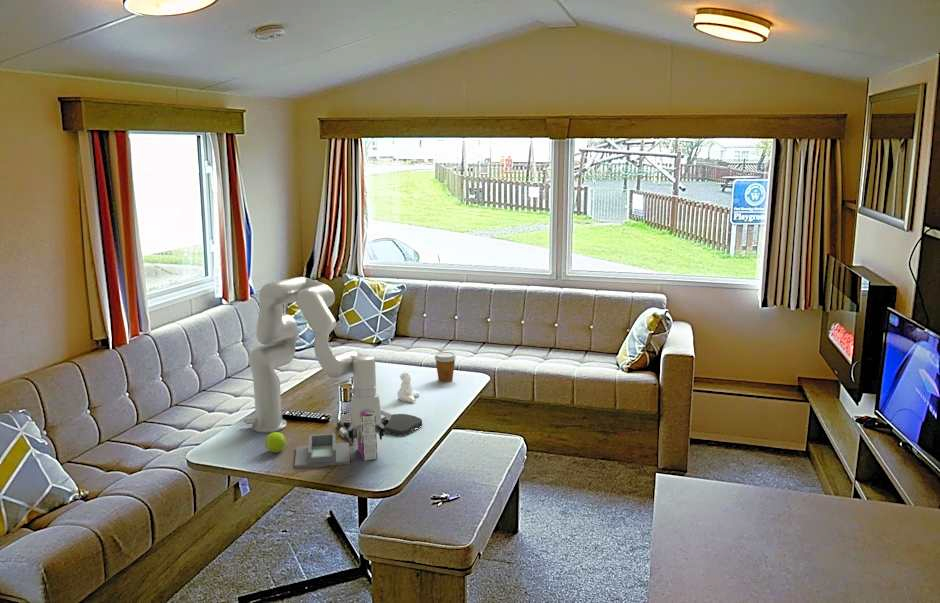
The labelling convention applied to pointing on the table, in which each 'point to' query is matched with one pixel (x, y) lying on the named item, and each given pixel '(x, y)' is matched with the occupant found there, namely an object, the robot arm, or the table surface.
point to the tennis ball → (275, 442)
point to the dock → (322, 452)
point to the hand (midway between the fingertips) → (366, 439)
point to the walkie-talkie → (344, 431)
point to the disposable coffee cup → (445, 366)
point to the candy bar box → (367, 436)
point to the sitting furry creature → (407, 389)
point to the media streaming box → (401, 424)
